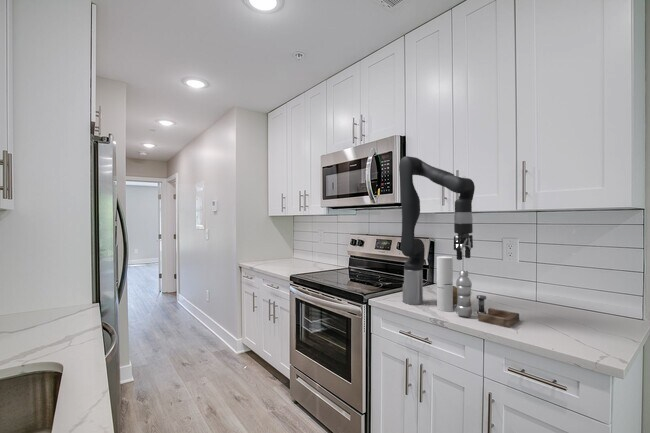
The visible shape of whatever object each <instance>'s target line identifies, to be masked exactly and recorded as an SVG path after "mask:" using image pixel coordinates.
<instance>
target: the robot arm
mask: <svg viewBox="0 0 650 433" xmlns="http://www.w3.org/2000/svg"><path fill="white" fill-rule="evenodd" d="M398 166H399V167H398V170H399V171H398V172H399V179H400V189H401V191H400V192H401V238H400V250H401V252H402V255H403V256H405V257H406V258H407V257H408V260H406V262H405V263H404V264H403V283H402V303H405V304H407V305H414V306H415V305H416V306H417V305H418V306H419V305H422V304H423V303H424V302H423V301H424V300H423V299H424V291H423V290H424V288H423V287H424V285H423V284H424V282H423V281H424V280H423V279H424V277H423V275H424V274H423V268H424V267H423V266H424V264H425V243H424V242H423V240H422V239H420V238H419V237H418V238H417V237H415V228H416V225H417V223H418V220H419V219H420V218H419V217H420V214H421V200H420V196H419V193H418V192H417V190H416V188H415V185H414V180H413V179H414V178H413V177H414V176H420V177H424V178H427V179H428V180H430V182H432V183H434V184H436V185H439V186H442V187H444V188H446V189H448V190H449V191H451V192H453V193H455V194H459V196H458V199H456V200H455V201H454V215H453V216H454V218H453V221H454V224H453V226H454V227H453V230H454V233H455V234H457V235H454V236H453V250H454V251H456V260H457V261H462V260H463V249H464V258H465V259H470V258H471V250H472V249H473V248H474V244H473V243H474V241H473V238H474V237H473V233H474V231H473V227H474V226H473V214H472V213H473V212H472V211H473V210H472V208H473V206H472V203H473V199H474V194H475V188H476V186H475V183H474V181H473V179H471V178H468V177H460V176H457V175H455V174H454V173H452V172H449V171H447V170H444V169H441V168H438V167H435V166H431V165H430V164H428V163H427V162H424V161H423V160H422V159H420V158H419V157H415V156H405V155H404V156H403V157H402V158H401V159H400V161H399V163H398Z"/></svg>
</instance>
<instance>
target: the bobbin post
mask: <svg viewBox="0 0 650 433" xmlns="http://www.w3.org/2000/svg"><path fill="white" fill-rule="evenodd" d="M476 299H477V300H478V310H476V314H477V315H478V314H479V313H483V314H487V311H485V300H487V296H486V295H482V294H481V295H480V294H479V295H476Z"/></svg>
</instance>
